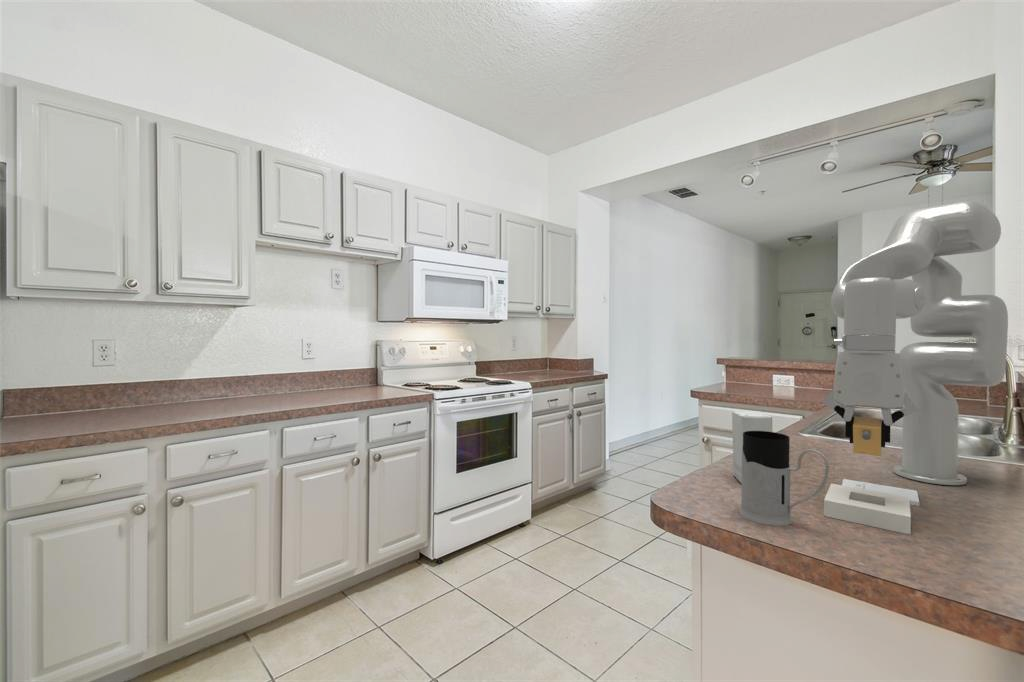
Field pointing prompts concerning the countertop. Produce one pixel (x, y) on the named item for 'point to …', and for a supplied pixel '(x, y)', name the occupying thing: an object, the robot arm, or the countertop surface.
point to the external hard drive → (884, 490)
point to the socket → (868, 508)
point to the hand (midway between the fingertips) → (867, 442)
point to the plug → (867, 436)
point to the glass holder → (769, 478)
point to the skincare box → (743, 424)
